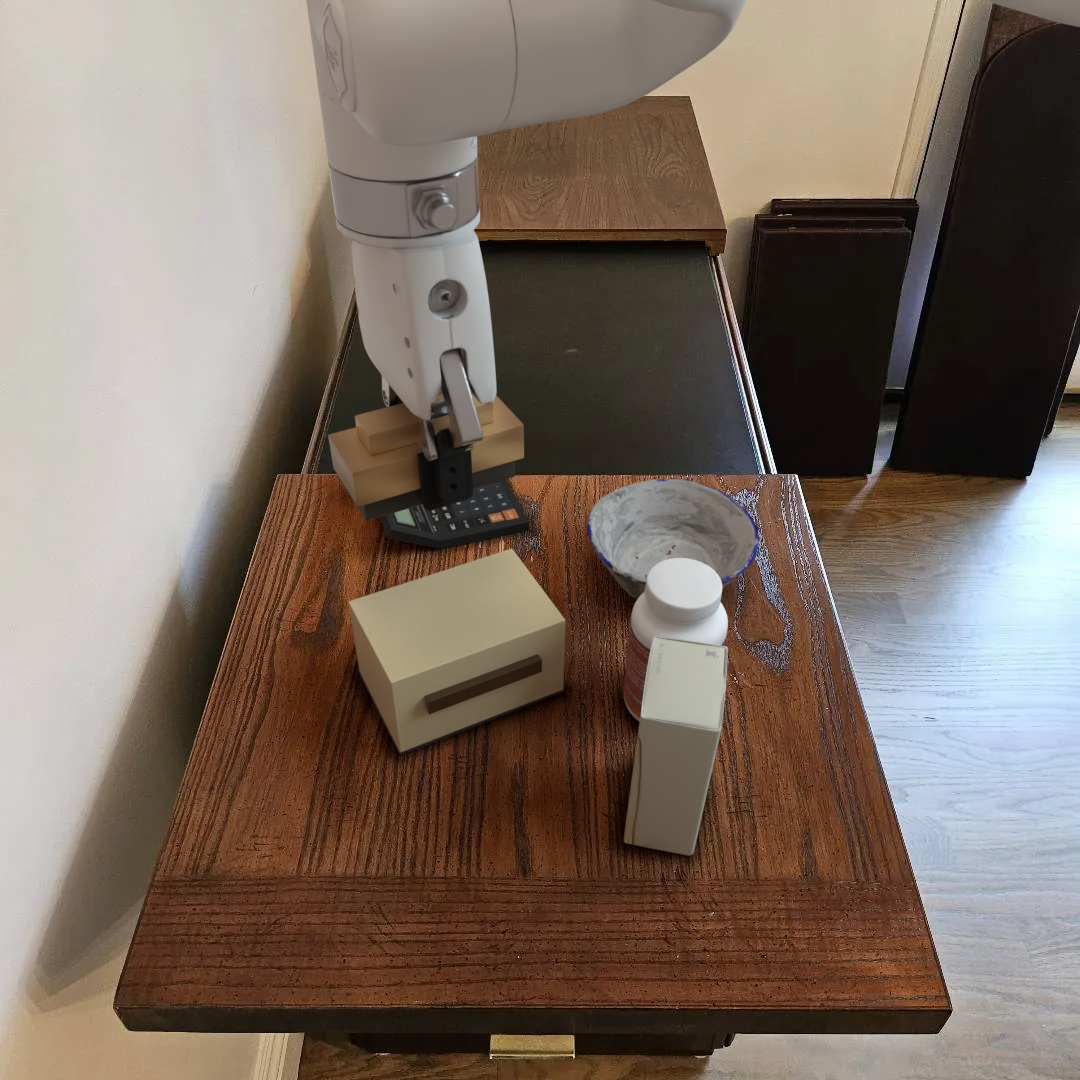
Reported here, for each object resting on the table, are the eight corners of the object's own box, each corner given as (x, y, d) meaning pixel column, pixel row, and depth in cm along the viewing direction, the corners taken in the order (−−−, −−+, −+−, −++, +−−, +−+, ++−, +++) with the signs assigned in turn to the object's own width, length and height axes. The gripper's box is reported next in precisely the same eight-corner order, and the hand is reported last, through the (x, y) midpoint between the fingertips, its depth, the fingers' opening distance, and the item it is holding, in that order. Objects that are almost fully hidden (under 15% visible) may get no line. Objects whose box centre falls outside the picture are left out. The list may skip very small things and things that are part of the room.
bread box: (568, 697, 69) (570, 625, 64) (403, 762, 64) (393, 690, 60) (513, 618, 74) (512, 547, 70) (358, 672, 70) (346, 600, 66)
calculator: (528, 530, 82) (528, 501, 80) (389, 559, 79) (386, 530, 77) (495, 466, 89) (494, 439, 87) (366, 491, 86) (362, 463, 84)
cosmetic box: (636, 763, 64) (650, 631, 56) (705, 775, 64) (729, 642, 56) (622, 847, 60) (636, 715, 52) (696, 861, 59) (722, 730, 51)
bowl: (783, 605, 76) (793, 558, 72) (630, 652, 72) (634, 603, 69) (699, 507, 85) (705, 461, 82) (560, 543, 81) (561, 496, 78)
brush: (494, 442, 67) (491, 370, 63) (524, 477, 64) (523, 403, 60) (336, 487, 63) (324, 413, 59) (360, 527, 60) (349, 451, 56)
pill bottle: (663, 751, 65) (679, 632, 58) (604, 693, 69) (613, 573, 62) (732, 709, 68) (756, 590, 61) (672, 655, 72) (688, 536, 65)
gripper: (546, 237, 47) (546, 537, 59) (413, 135, 59) (434, 402, 70) (397, 269, 44) (427, 577, 56) (288, 155, 56) (332, 429, 67)
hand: (431, 477), depth 63 cm, fingers closed on brush, 4 cm apart
